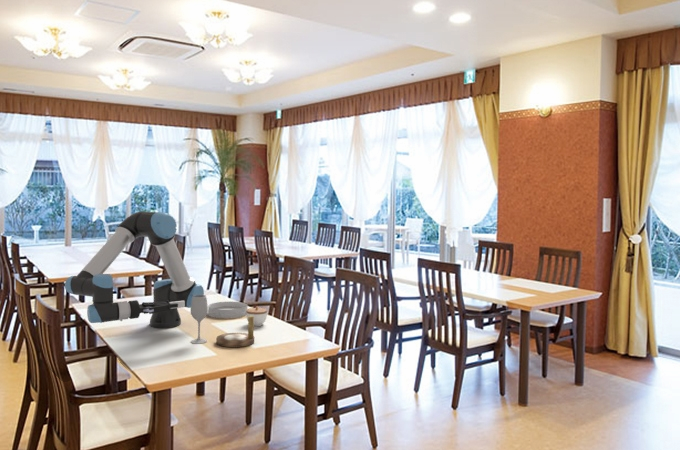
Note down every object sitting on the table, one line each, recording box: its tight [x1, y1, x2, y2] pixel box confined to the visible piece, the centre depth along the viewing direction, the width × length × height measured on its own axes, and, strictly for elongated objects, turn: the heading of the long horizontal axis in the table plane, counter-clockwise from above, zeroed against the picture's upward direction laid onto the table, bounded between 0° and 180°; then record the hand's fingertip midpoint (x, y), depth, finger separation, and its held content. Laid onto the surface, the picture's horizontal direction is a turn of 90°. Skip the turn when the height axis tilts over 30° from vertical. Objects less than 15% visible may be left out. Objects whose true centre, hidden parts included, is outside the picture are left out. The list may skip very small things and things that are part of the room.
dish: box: [207, 301, 249, 319], centre depth 298 cm, size 22×22×5 cm
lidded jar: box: [246, 306, 268, 327], centre depth 275 cm, size 11×11×9 cm
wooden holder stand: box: [215, 316, 255, 348], centre depth 241 cm, size 17×17×12 cm
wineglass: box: [190, 294, 209, 345], centre depth 241 cm, size 8×8×21 cm
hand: (184, 303), depth 235 cm, fingers closed
